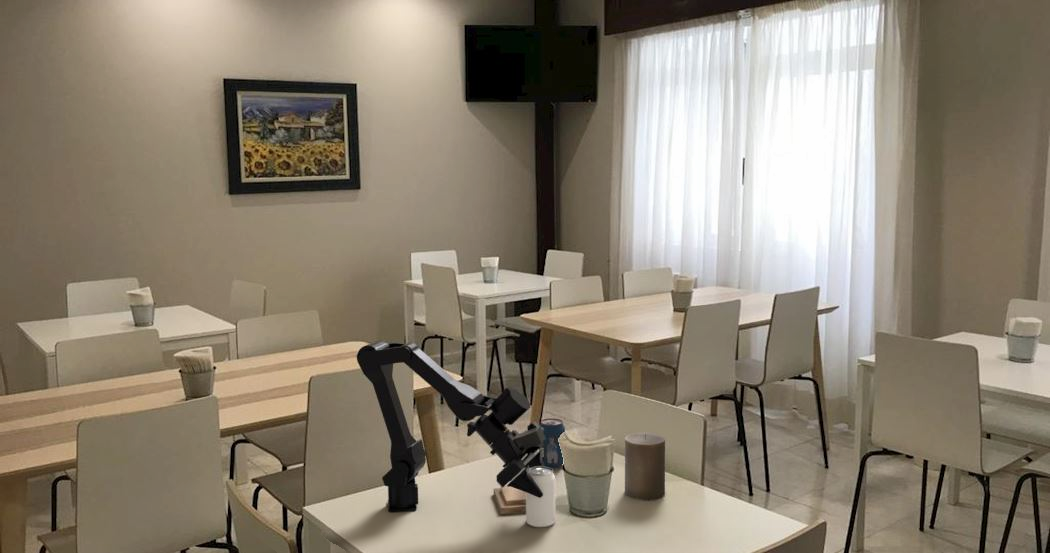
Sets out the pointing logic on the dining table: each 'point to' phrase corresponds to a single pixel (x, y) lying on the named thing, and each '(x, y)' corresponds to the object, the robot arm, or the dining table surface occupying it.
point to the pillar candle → (645, 466)
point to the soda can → (552, 442)
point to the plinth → (510, 500)
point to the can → (543, 508)
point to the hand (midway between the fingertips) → (546, 490)
